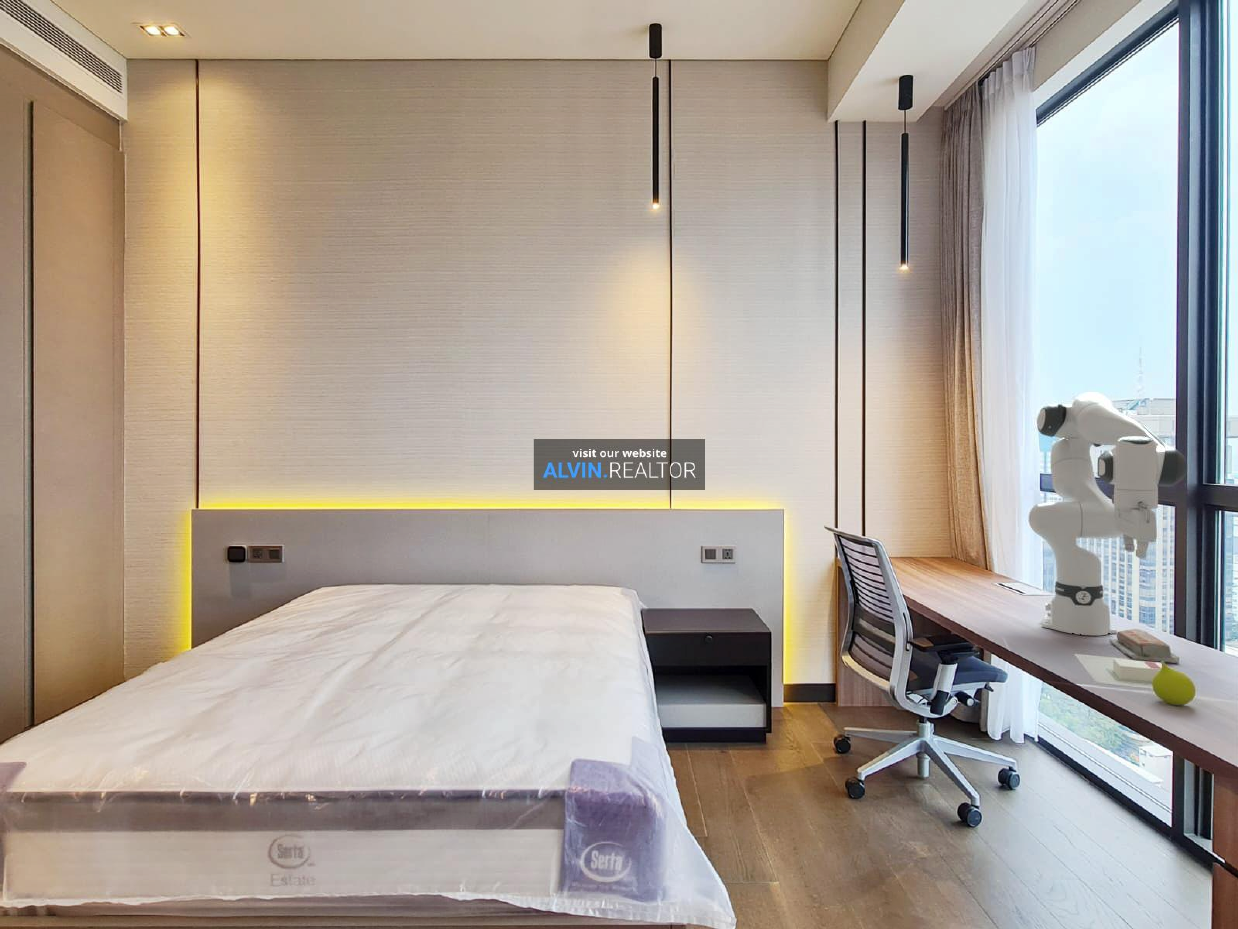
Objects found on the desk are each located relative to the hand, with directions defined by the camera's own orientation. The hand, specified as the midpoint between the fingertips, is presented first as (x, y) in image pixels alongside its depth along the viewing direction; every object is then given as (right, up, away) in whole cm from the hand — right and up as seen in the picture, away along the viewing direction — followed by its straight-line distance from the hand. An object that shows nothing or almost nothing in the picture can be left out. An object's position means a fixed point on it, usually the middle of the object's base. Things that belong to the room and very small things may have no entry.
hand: (1135, 554), depth 168 cm
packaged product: (+8, -28, +8) cm, 30 cm away
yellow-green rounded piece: (-12, -29, -27) cm, 41 cm away
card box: (-12, -26, -9) cm, 30 cm away
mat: (-7, -28, -7) cm, 30 cm away
